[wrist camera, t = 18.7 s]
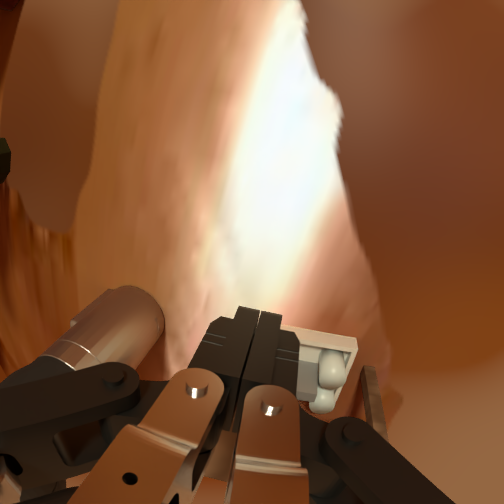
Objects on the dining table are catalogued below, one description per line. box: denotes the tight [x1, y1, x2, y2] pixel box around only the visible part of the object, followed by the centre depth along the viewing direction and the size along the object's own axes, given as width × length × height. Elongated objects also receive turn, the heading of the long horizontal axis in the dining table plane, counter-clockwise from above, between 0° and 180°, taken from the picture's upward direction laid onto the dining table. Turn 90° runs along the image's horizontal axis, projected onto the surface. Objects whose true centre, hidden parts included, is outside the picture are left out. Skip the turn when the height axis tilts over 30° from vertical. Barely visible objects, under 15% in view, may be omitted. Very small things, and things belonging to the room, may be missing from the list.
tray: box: [280, 324, 358, 414], centre depth 38 cm, size 12×10×7 cm
